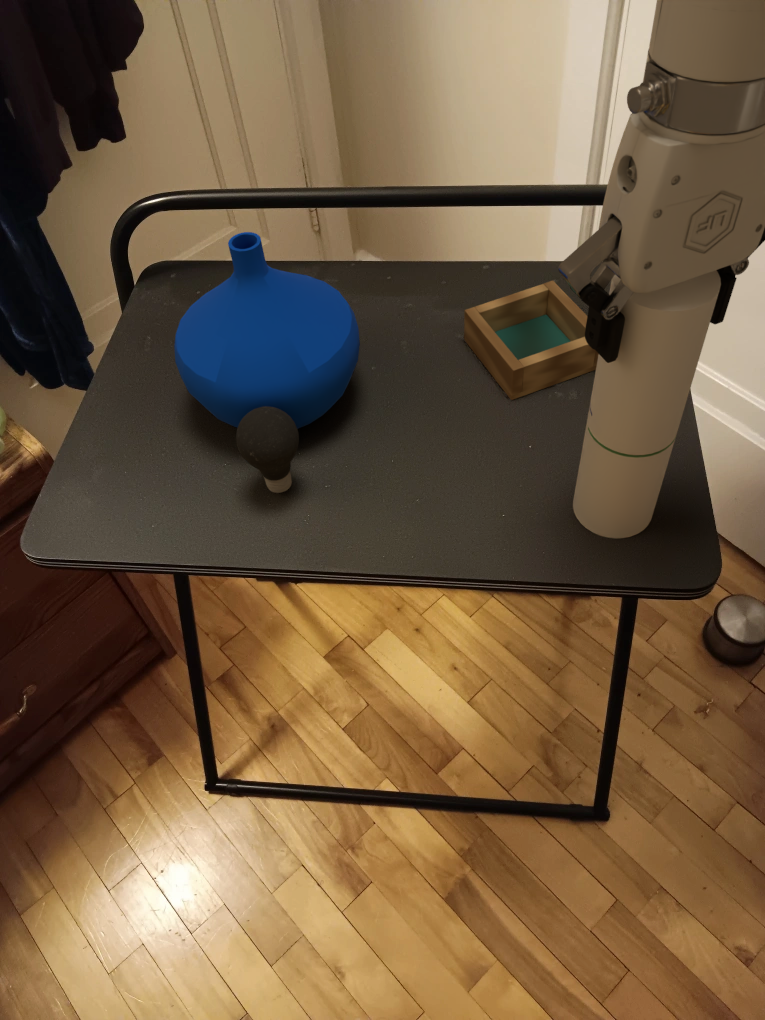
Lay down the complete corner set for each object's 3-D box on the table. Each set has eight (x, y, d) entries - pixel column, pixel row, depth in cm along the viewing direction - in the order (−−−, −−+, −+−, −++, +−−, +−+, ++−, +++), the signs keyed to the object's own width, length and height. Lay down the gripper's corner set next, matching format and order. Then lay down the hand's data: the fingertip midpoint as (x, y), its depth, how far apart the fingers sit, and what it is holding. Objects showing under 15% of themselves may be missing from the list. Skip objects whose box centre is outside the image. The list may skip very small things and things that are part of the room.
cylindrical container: (648, 478, 78) (712, 247, 58) (656, 539, 73) (728, 311, 54) (571, 476, 79) (608, 247, 59) (574, 536, 74) (616, 310, 55)
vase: (200, 350, 94) (152, 196, 79) (360, 334, 94) (342, 176, 79) (188, 471, 82) (129, 317, 68) (371, 452, 82) (352, 294, 67)
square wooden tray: (549, 310, 94) (552, 280, 91) (602, 367, 88) (607, 337, 84) (463, 339, 92) (464, 309, 89) (511, 400, 86) (513, 370, 82)
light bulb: (252, 470, 82) (230, 396, 74) (308, 463, 82) (292, 389, 74) (251, 514, 78) (229, 442, 71) (310, 507, 78) (294, 434, 71)
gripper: (615, 157, 43) (576, 402, 56) (884, 75, 46) (786, 324, 60) (541, 98, 47) (522, 338, 61) (791, 27, 50) (720, 269, 64)
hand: (653, 330), depth 60 cm, fingers open, 8 cm apart
